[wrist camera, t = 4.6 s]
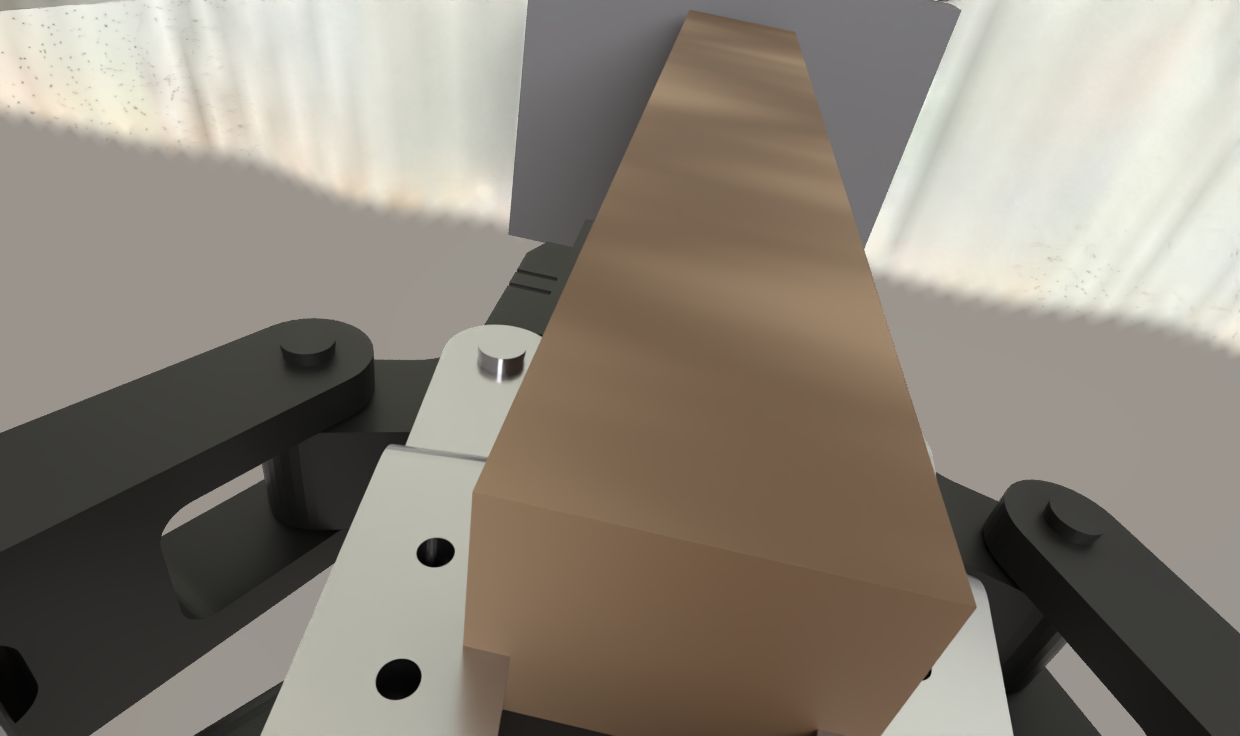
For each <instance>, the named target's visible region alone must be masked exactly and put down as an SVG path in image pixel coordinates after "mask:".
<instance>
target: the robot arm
mask: <svg viewBox="0 0 1240 736" xmlns="http://www.w3.org/2000/svg"><path fill="white" fill-rule="evenodd" d="M593 223H594V221H591V220H587V219H586V220H585V222H584V224H583V226H582V228H581V231H580V233H579V235H578V237H577V239H576V241H575V243H574V245H573V247H570V246H566V245H561V244H557V243H552V242H546V243H544V244H543V245H541V246H539V247H537V248H535V249H533V250H531V251H530V252H528V253H527V254H526V256H525V257H524V259H523V260H522V262H521V264H520V266H519V267H518V269H517V272H515V274H514V276H513V277H512V279H511V281H510V283H509V286H507V288H506V290H505V291H504V293H503V294H502V296H501V298H500V299H499V301H498V303H497V305H496V306H495V308H494V310H493V311H492V313H491V315H490V317H489V318H488V320H487V322H486V323H485V325H484V326H477V327H473V328H470V329H466V330H464V331H462V332H460V333H458V334H456V335H455V336H454V337H452V338H451V339H450V340H449V341H448V342H447V344H446V346H445V347H444V350H443V352H442V355H441V357H439V358H435V359H428V360H374V351H373V345H372V343H371V340H370V339H369V338H368V336H367V335H366V334H365V333H363V332H362V331H361V330H360V329H358V328H356V327H354V326H352V325H349V324H346V323H344V322H340V321H335V320H329V319H316V318H312V319H299V320H291V321H287V322H283V323H279V324H276V325H273V326H270V327H269V328H265V329H263V330H260V331H258V332H255V333H253V334H250V335H248V336H245V337H243V338H240V339H238V340H235V341H233V342H230V343H228V344H225V345H222V346H220V347H217V348H215V349H212V350H210V351H207V352H205V353H202V354H200V355H197V356H194V357H192V358H189V359H187V360H185V361H182V362H179V363H177V364H174V365H172V366H169V367H166V368H164V369H161V370H159V371H156V372H154V373H151V374H149V375H146V376H144V377H141V378H139V379H136V380H134V381H131V382H129V383H126V384H123V385H121V386H118V387H116V388H113V389H111V390H108V391H106V392H103V393H101V394H98V395H96V396H93V397H90V398H88V399H85V400H83V401H80V402H78V403H75V404H73V405H70V406H68V407H65V408H63V409H60V410H57V411H55V412H52V413H50V414H47V415H45V416H42V417H40V418H37V419H35V420H32V421H30V422H27V423H25V424H22V425H19V426H17V427H14V428H12V429H9V430H7V431H5V432H2V433H0V736H89V735H91V734H92V733H93V732H95V731H96V730H98V729H99V728H101V727H102V726H104V725H105V724H106V723H108V722H109V721H111V720H112V719H113V718H115V717H116V716H118V715H119V714H121V713H122V712H123V711H125V710H126V709H128V708H129V707H131V706H132V705H133V704H135V703H136V702H138V701H139V700H140V699H142V698H143V697H145V696H146V695H148V694H149V693H151V692H152V691H153V690H155V689H156V688H158V687H159V686H160V685H162V684H163V683H165V682H166V681H168V680H169V679H170V678H172V677H173V676H175V675H176V674H178V673H179V672H180V671H182V670H183V669H184V668H186V667H187V666H189V665H190V664H192V663H193V662H195V661H196V660H197V659H199V658H200V657H202V656H203V655H204V654H206V653H207V652H209V651H210V650H212V649H213V648H214V647H216V646H217V645H219V644H220V643H222V642H223V641H224V640H226V639H227V638H229V637H230V636H231V635H233V634H234V633H236V632H237V631H239V630H240V629H241V628H243V627H244V626H246V625H247V624H249V623H250V622H251V621H253V620H254V619H256V618H257V617H259V616H260V615H261V614H263V613H264V612H266V611H267V610H268V609H270V608H271V607H272V606H274V605H275V604H277V603H278V602H280V601H281V600H283V599H284V598H286V597H287V596H288V595H290V594H291V593H293V592H294V591H295V590H297V589H298V588H300V587H301V586H303V585H304V584H305V583H307V582H308V581H310V580H311V579H313V578H314V577H315V576H317V575H318V574H319V573H321V572H322V571H324V570H325V569H327V568H328V567H329V566H331V565H332V564H334V563H335V564H334V566H333V569H332V571H331V573H330V576H329V578H328V580H327V583H326V585H325V587H324V590H323V592H322V594H321V597H320V599H319V601H318V604H317V606H316V608H315V611H314V613H313V615H312V617H311V620H310V622H309V624H308V627H307V629H306V631H305V634H304V636H303V638H302V641H301V643H300V646H299V648H298V650H297V652H296V655H295V657H294V659H293V662H292V664H291V666H290V668H289V671H288V673H287V675H286V678H285V680H284V681H282V682H281V683H279V684H277V685H276V686H274V687H272V688H271V689H269V690H268V691H266V692H265V693H263V694H261V695H259V696H258V697H256V698H254V699H253V700H251V701H250V702H248V703H246V704H245V705H243V706H241V707H240V708H238V709H237V710H235V711H233V712H232V713H230V714H228V715H227V716H225V717H223V718H222V719H220V720H218V721H217V722H215V723H214V724H212V725H210V726H209V727H207V728H205V729H204V730H202V731H200V732H199V733H197V734H196V735H194V736H613V735H609V734H605V733H601V732H596V731H592V730H588V729H584V728H580V727H575V726H571V725H567V724H563V723H558V722H554V721H550V720H546V719H542V718H537V717H533V716H529V715H525V714H521V713H516V712H512V711H508V710H504V709H503V708H504V701H505V694H506V686H507V678H508V671H509V663H510V657H509V656H505V655H501V654H496V653H492V652H488V651H484V650H479V649H475V648H471V647H467V646H463V636H464V619H465V603H466V587H467V571H468V555H469V539H470V523H471V507H472V492H473V489H474V487H475V485H476V483H477V480H478V478H479V476H480V474H481V472H482V469H483V467H484V465H485V463H486V461H487V458H488V456H489V454H490V452H491V449H492V447H493V445H494V443H495V441H496V438H497V436H498V434H499V432H500V429H501V427H502V425H503V423H504V421H505V418H506V416H507V414H508V412H509V410H510V407H511V405H512V403H513V401H514V398H515V396H516V394H517V392H518V390H519V387H520V385H521V383H522V381H523V378H524V376H525V374H526V372H527V370H528V367H529V365H530V363H531V361H532V359H533V356H534V354H535V352H536V350H537V347H538V345H539V343H540V341H541V339H542V336H543V334H544V332H545V330H546V327H547V325H548V323H549V321H550V319H551V316H552V314H553V312H554V310H555V307H556V305H557V303H558V301H559V299H560V296H561V294H562V292H563V290H564V288H565V285H566V283H567V281H568V279H569V276H570V274H571V272H572V270H573V268H574V265H575V263H576V261H577V259H578V256H579V254H580V252H581V250H582V248H583V245H584V243H585V241H586V239H587V237H588V234H589V232H590V230H591V228H592V225H593ZM924 441H925V444H926V447H927V451H928V454H929V457H930V460H931V463H932V466H933V470H934V473H935V476H936V479H937V482H938V485H939V489H940V492H941V495H942V498H943V501H944V504H945V508H946V511H947V514H948V517H949V520H950V523H951V527H952V530H953V533H954V536H955V539H956V542H957V546H958V549H959V552H960V555H961V558H962V561H963V565H964V568H965V571H966V574H967V577H968V580H969V584H970V587H971V590H972V593H973V596H974V599H975V603H976V606H977V608H976V609H975V611H974V612H973V613H972V615H971V616H970V617H969V619H968V620H967V621H966V623H965V624H964V625H963V627H962V628H961V629H960V631H959V632H958V633H957V635H956V636H955V637H954V639H953V640H952V641H951V643H950V644H949V645H948V647H947V648H946V649H945V651H944V652H943V653H942V655H941V656H940V657H939V659H938V660H937V662H936V663H935V664H934V666H933V667H932V668H931V670H930V671H929V672H928V674H927V675H926V676H925V678H924V679H923V680H922V682H921V683H920V684H919V686H918V687H917V688H916V690H915V691H914V692H913V694H912V695H911V696H910V698H909V699H908V700H907V702H906V703H905V704H904V706H903V707H902V708H901V710H900V711H899V712H898V714H897V715H896V716H895V718H894V719H893V720H892V722H891V723H890V724H889V726H888V727H887V728H886V730H885V731H884V732H883V734H882V735H881V736H1101V734H1100V733H1099V732H1098V731H1097V730H1096V728H1095V727H1094V726H1093V725H1092V724H1091V722H1090V721H1089V720H1088V719H1087V717H1086V716H1085V715H1084V714H1083V712H1082V711H1081V710H1080V709H1079V708H1078V706H1077V705H1076V704H1075V703H1074V701H1073V700H1072V699H1071V698H1070V697H1069V696H1068V694H1067V693H1066V692H1065V691H1064V689H1063V688H1062V687H1061V686H1060V684H1059V683H1058V682H1057V681H1056V680H1055V679H1054V677H1053V676H1052V675H1051V673H1050V672H1049V671H1048V670H1047V669H1046V667H1045V666H1046V665H1047V664H1048V663H1049V662H1050V661H1051V659H1052V658H1053V657H1054V656H1055V655H1056V654H1057V653H1058V652H1059V650H1061V648H1062V647H1063V646H1064V645H1065V644H1066V643H1068V644H1069V645H1070V646H1071V647H1072V648H1073V649H1074V651H1075V652H1076V653H1077V654H1078V655H1079V656H1080V658H1081V659H1082V660H1083V661H1084V662H1085V663H1086V664H1087V666H1089V668H1090V669H1091V670H1092V671H1093V672H1094V674H1095V675H1096V676H1097V677H1098V678H1099V679H1100V681H1101V682H1102V683H1103V684H1104V685H1105V686H1106V687H1107V688H1108V690H1110V692H1111V693H1112V694H1113V695H1114V697H1115V698H1116V699H1117V700H1118V701H1119V702H1120V703H1121V705H1122V706H1123V707H1124V708H1125V709H1126V710H1127V712H1128V713H1129V714H1130V715H1131V716H1132V717H1133V718H1134V720H1135V721H1136V722H1137V723H1138V724H1139V725H1140V727H1141V728H1142V729H1143V731H1144V732H1145V734H1146V735H1147V736H1240V634H1239V632H1237V631H1236V630H1235V629H1234V628H1233V627H1232V626H1231V625H1230V624H1229V623H1228V622H1227V621H1225V620H1224V619H1223V618H1222V617H1221V616H1220V615H1219V614H1218V613H1217V612H1216V611H1215V610H1214V609H1213V608H1211V607H1210V606H1209V605H1208V604H1207V603H1206V602H1205V601H1204V600H1203V599H1202V598H1201V597H1200V596H1198V595H1197V594H1196V593H1195V592H1194V591H1193V590H1192V589H1191V588H1190V587H1189V586H1187V584H1185V583H1184V582H1183V581H1182V580H1181V579H1180V578H1179V577H1178V576H1177V575H1176V574H1175V573H1174V572H1172V571H1171V570H1170V569H1169V568H1168V567H1167V566H1166V565H1165V564H1164V563H1163V562H1161V561H1160V560H1159V559H1158V558H1157V557H1156V556H1155V555H1154V554H1153V553H1152V552H1151V551H1150V550H1149V549H1147V548H1146V547H1145V546H1144V545H1143V544H1142V543H1141V542H1140V541H1139V540H1138V539H1137V538H1136V537H1134V536H1133V535H1132V534H1131V533H1130V532H1129V531H1128V530H1127V529H1126V528H1125V527H1124V526H1122V525H1121V524H1120V523H1119V522H1118V521H1117V520H1116V519H1115V518H1114V517H1113V516H1112V515H1110V514H1109V513H1108V512H1107V511H1106V510H1104V509H1103V508H1102V507H1100V506H1099V505H1097V504H1096V503H1095V502H1093V501H1091V500H1090V499H1088V498H1086V497H1085V496H1083V495H1081V494H1079V493H1077V492H1075V491H1073V490H1071V489H1068V488H1066V487H1063V486H1061V485H1057V484H1054V483H1051V482H1046V481H1041V480H1023V481H1019V482H1016V483H1014V484H1012V485H1011V486H1010V487H1009V488H1008V489H1007V490H1006V492H1005V493H1004V495H1003V496H1002V498H1001V499H1000V501H999V502H998V501H996V500H994V499H992V498H989V497H987V496H985V495H982V494H980V493H978V492H976V491H973V490H971V489H969V488H967V487H964V486H962V485H960V484H958V483H955V482H953V481H951V480H949V479H947V478H945V477H943V476H941V475H940V474H938V473H937V472H935V466H934V459H933V454H932V451H931V449H930V447H929V445H928V443H927V442H926V440H925V439H924ZM260 464H262V467H263V472H264V478H265V479H264V480H262V481H260V482H258V483H257V484H255V485H253V486H251V487H250V488H248V489H246V490H244V491H242V492H241V493H239V494H237V495H235V496H233V497H232V498H230V499H228V500H226V501H224V502H223V503H221V504H219V505H217V506H215V507H214V508H212V509H210V510H208V511H207V512H205V513H203V514H201V515H199V516H197V517H196V518H194V519H192V520H190V521H189V522H187V523H185V524H183V525H181V526H180V527H178V528H176V529H174V530H172V531H171V532H169V533H167V534H165V535H163V536H162V537H161V535H162V532H163V530H164V528H165V526H166V525H167V523H168V522H169V520H170V519H171V518H172V517H173V516H174V515H175V514H176V513H177V512H178V511H179V510H180V509H182V508H183V507H184V506H185V505H187V504H189V503H190V502H192V501H194V500H196V499H198V498H199V497H201V496H203V495H205V494H207V493H209V492H211V491H212V490H214V489H216V488H218V487H220V486H222V485H223V484H225V483H227V482H229V481H231V480H233V479H235V478H236V477H238V476H240V475H242V474H244V473H245V472H247V471H249V470H251V469H253V468H255V467H257V466H259V465H260ZM814 736H845V735H841V734H837V733H832V732H828V731H824V730H820V729H817V731H816V733H815V734H814Z"/></svg>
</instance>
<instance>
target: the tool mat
mask: <svg viewBox="0 0 1240 736" xmlns="http://www.w3.org/2000/svg"><path fill="white" fill-rule="evenodd" d="M689 10H693V11H698V12H702V13H707V14H712V15H717V16H722V17H726V18H731V19H736V20H741V21H745V22H750V23H755V24H760V25H765V26H769V27H774V28H779V29H784V30H788V31H793V32H795V33H796V36H797V39H798V42H799V46H800V49H801V52H802V55H803V58H804V61H805V65H806V68H807V71H808V74H809V77H810V80H811V84H812V87H813V90H814V93H815V96H816V99H817V103H818V106H819V109H820V112H821V115H822V118H823V122H824V125H825V128H826V131H827V134H828V137H829V141H830V144H831V147H832V150H833V153H834V156H835V160H836V163H837V166H838V169H839V172H840V175H841V179H842V182H843V185H844V188H845V191H846V194H847V198H848V201H849V204H850V207H851V210H852V213H853V216H854V220H855V223H856V226H857V229H858V232H859V235H860V239H861V242H862V245H863V248H865V245H866V243H867V241H868V238H869V236H870V233H871V231H872V228H873V226H874V223H875V221H876V218H877V216H878V214H879V211H880V209H881V206H882V204H883V201H884V199H885V196H886V194H887V192H888V189H889V187H890V184H891V182H892V179H893V177H894V174H895V172H896V169H897V167H898V165H899V162H900V160H901V157H902V155H903V152H904V150H905V147H906V145H907V142H908V140H909V138H910V135H911V133H912V130H913V128H914V125H915V123H916V120H917V118H918V116H919V113H920V111H921V108H922V106H923V103H924V101H925V98H926V96H927V93H928V91H929V89H930V86H931V84H932V81H933V79H934V76H935V74H936V71H937V69H938V66H939V64H940V62H941V59H942V57H943V54H944V52H945V49H946V47H947V44H948V42H949V39H950V37H951V35H952V32H953V30H954V27H955V25H956V22H957V20H958V17H959V15H960V13H961V10H960V9H958V8H957V7H955V6H953V5H952V4H949V3H944V2H939V1H934V0H528V7H527V19H526V31H525V43H524V55H523V67H522V79H521V91H520V103H519V115H518V127H517V139H516V151H515V163H514V175H513V187H512V199H511V211H510V223H509V235H512V236H517V237H521V238H526V239H531V240H535V241H540V242H544V243H546V242H552V243H557V244H561V245H566V246H570V247H573V245H574V243H575V241H576V239H577V237H578V235H579V233H580V231H581V228H582V226H583V224H584V222H585V220H586V219H587V220H591V221H595V219H596V217H597V214H598V212H599V210H600V208H601V205H602V203H603V201H604V199H605V197H606V194H607V192H608V190H609V188H610V186H611V183H612V181H613V179H614V177H615V174H616V172H617V170H618V168H619V166H620V163H621V161H622V159H623V157H624V154H625V152H626V150H627V148H628V146H629V143H630V141H631V139H632V137H633V134H634V132H635V130H636V128H637V126H638V123H639V121H640V119H641V117H642V115H643V112H644V110H645V108H646V106H647V103H648V101H649V99H650V97H651V95H652V92H653V90H654V88H655V86H656V83H657V81H658V79H659V77H660V75H661V72H662V70H663V68H664V66H665V64H666V61H667V59H668V57H669V55H670V52H671V50H672V48H673V46H674V44H675V41H676V39H677V37H678V35H679V32H680V30H681V28H682V26H683V24H684V21H685V19H686V17H687V15H688V13H689Z"/></svg>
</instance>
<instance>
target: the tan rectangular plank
mask: <svg viewBox="0 0 1240 736" xmlns="http://www.w3.org/2000/svg"><path fill="white" fill-rule="evenodd" d="M976 608H977V606H976V603H975V599H974V596H973V593H972V590H971V587H970V584H969V580H968V577H967V574H966V571H965V568H964V565H963V561H962V558H961V555H960V552H959V549H958V546H957V542H956V539H955V536H954V533H953V530H952V527H951V523H950V520H949V517H948V514H947V511H946V508H945V504H944V501H943V498H942V495H941V492H940V489H939V485H938V482H937V479H936V476H935V473H934V470H933V466H932V463H931V460H930V457H929V454H928V451H927V447H926V444H925V441H924V438H923V436H922V432H921V428H920V425H919V422H918V419H917V416H916V413H915V410H914V407H913V404H912V400H911V397H910V394H909V391H908V387H907V384H906V381H905V378H904V375H903V372H902V368H901V365H900V362H899V359H898V356H897V353H896V350H895V346H894V343H893V340H892V337H891V334H890V331H889V327H888V324H887V321H886V318H885V315H884V312H883V309H882V305H881V302H880V299H879V296H878V292H877V289H876V286H875V283H874V280H873V277H872V273H871V270H870V267H869V264H868V261H867V258H866V254H865V251H864V248H863V245H862V242H861V239H860V235H859V232H858V229H857V226H856V223H855V220H854V216H853V213H852V210H851V207H850V204H849V201H848V198H847V194H846V191H845V188H844V185H843V182H842V179H841V175H840V172H839V169H838V166H837V163H836V160H835V156H834V153H833V150H832V147H831V144H830V141H829V137H828V134H827V131H826V128H825V125H824V122H823V118H822V115H821V112H820V109H819V106H818V103H817V99H816V96H815V93H814V90H813V87H812V84H811V80H810V77H809V74H808V71H807V68H806V65H805V61H804V58H803V55H802V52H801V49H800V46H799V42H798V39H797V36H796V33H795V32H793V31H788V30H784V29H779V28H774V27H769V26H765V25H760V24H755V23H750V22H745V21H741V20H736V19H731V18H726V17H722V16H717V15H712V14H707V13H702V12H698V11H693V10H689V13H688V15H687V17H686V19H685V21H684V24H683V26H682V28H681V30H680V32H679V35H678V37H677V39H676V41H675V44H674V46H673V48H672V50H671V52H670V55H669V57H668V59H667V61H666V64H665V66H664V68H663V70H662V72H661V75H660V77H659V79H658V81H657V83H656V86H655V88H654V90H653V92H652V95H651V97H650V99H649V101H648V103H647V106H646V108H645V110H644V112H643V115H642V117H641V119H640V121H639V123H638V126H637V128H636V130H635V132H634V134H633V137H632V139H631V141H630V143H629V146H628V148H627V150H626V152H625V154H624V157H623V159H622V161H621V163H620V166H619V168H618V170H617V172H616V174H615V177H614V179H613V181H612V183H611V186H610V188H609V190H608V192H607V194H606V197H605V199H604V201H603V203H602V205H601V208H600V210H599V212H598V214H597V217H596V219H595V221H594V223H593V225H592V228H591V230H590V232H589V234H588V237H587V239H586V241H585V243H584V245H583V248H582V250H581V252H580V254H579V256H578V259H577V261H576V263H575V265H574V268H573V270H572V272H571V274H570V276H569V279H568V281H567V283H566V285H565V288H564V290H563V292H562V294H561V296H560V299H559V301H558V303H557V305H556V307H555V310H554V312H553V314H552V316H551V319H550V321H549V323H548V325H547V327H546V330H545V332H544V334H543V336H542V339H541V341H540V343H539V345H538V347H537V350H536V352H535V354H534V356H533V359H532V361H531V363H530V365H529V367H528V370H527V372H526V374H525V376H524V378H523V381H522V383H521V385H520V387H519V390H518V392H517V394H516V396H515V398H514V401H513V403H512V405H511V407H510V410H509V412H508V414H507V416H506V418H505V421H504V423H503V425H502V427H501V429H500V432H499V434H498V436H497V438H496V441H495V443H494V445H493V447H492V449H491V452H490V454H489V456H488V458H487V461H486V463H485V465H484V467H483V469H482V472H481V474H480V476H479V478H478V480H477V483H476V485H475V487H474V489H473V492H472V507H471V523H470V539H469V555H468V571H467V587H466V603H465V619H464V636H463V646H467V647H471V648H475V649H479V650H484V651H488V652H492V653H496V654H501V655H505V656H509V657H510V663H509V671H508V678H507V686H506V694H505V701H504V708H503V709H504V710H508V711H512V712H516V713H521V714H525V715H529V716H533V717H537V718H542V719H546V720H550V721H554V722H558V723H563V724H567V725H571V726H575V727H580V728H584V729H588V730H592V731H596V732H601V733H605V734H609V735H613V736H814V734H815V733H816V731H817V729H820V730H824V731H828V732H832V733H837V734H841V735H845V736H881V735H882V734H883V732H884V731H885V730H886V728H887V727H888V726H889V724H890V723H891V722H892V720H893V719H894V718H895V716H896V715H897V714H898V712H899V711H900V710H901V708H902V707H903V706H904V704H905V703H906V702H907V700H908V699H909V698H910V696H911V695H912V694H913V692H914V691H915V690H916V688H917V687H918V686H919V684H920V683H921V682H922V680H923V679H924V678H925V676H926V675H927V674H928V672H929V671H930V670H931V668H932V667H933V666H934V664H935V663H936V662H937V660H938V659H939V657H940V656H941V655H942V653H943V652H944V651H945V649H946V648H947V647H948V645H949V644H950V643H951V641H952V640H953V639H954V637H955V636H956V635H957V633H958V632H959V631H960V629H961V628H962V627H963V625H964V624H965V623H966V621H967V620H968V619H969V617H970V616H971V615H972V613H973V612H974V611H975V609H976Z"/></svg>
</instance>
